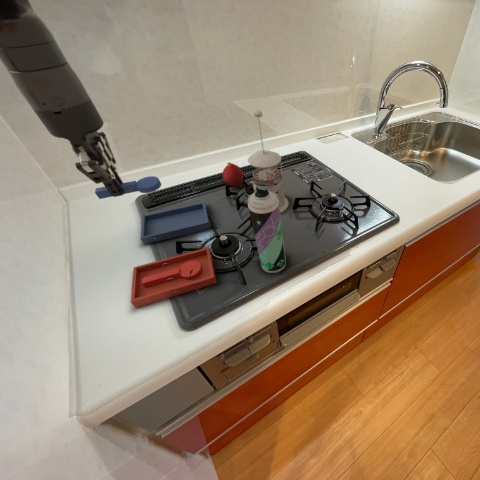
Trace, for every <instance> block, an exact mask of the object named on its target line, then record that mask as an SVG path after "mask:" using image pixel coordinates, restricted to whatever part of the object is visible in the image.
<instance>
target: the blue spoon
mask: <svg viewBox="0 0 480 480" xmlns="http://www.w3.org/2000/svg"><path fill="white" fill-rule="evenodd" d="M120 185H121V187H122V189H123V190H124V195H126V194H131V193H137V192H139V193H141V194H148V193H149V194H150V193H154V192H155V191H158V190H159V189H160V188H161V186H162V182H161V181H160V179H159V177H158V176H154V175H153V176H152V175H151V176H145V177H142V178H139V179H138V180H137V181H136V180H131V181H126V182H123V183H121V184H120ZM94 193H95V196H97V198H98V199H99V200H102V199H107V198H111V197H113V196H111V195H110V193H109V192H108V190H107V189H106V187H105V186H101V187H96V188H95V190H94Z"/></svg>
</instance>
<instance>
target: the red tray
mask: <svg viewBox="0 0 480 480" xmlns="http://www.w3.org/2000/svg"><path fill="white" fill-rule="evenodd" d="M200 254H201V255H200ZM188 261H198V262H199V263H200V264H201V266H202V273H201V274H200V275H199V276H198V277H197V278H195V279H192V280H185V279H183V278H182V277H181V278H178V279H174V280H171V281H168V282H164V283H161V284H157V285H154V286H151V287H147V288H145V287H144V286H143V284H142V278H144V277H148V276H151V275H155V274H158V273H162V272H165V271H169V270H172V269H176V268H180V267H181V266H182V265H183V264H184V263H186V262H188ZM164 263H168V264H164ZM162 264H164V265H162ZM217 283H218V282H217V277H216V270H215V266H214V261H213V256H212V252H211V249H210V247H204V248H201V249H196V250H193V251H190V252H186V253H182V254H178V255H174V256H171V257H166V258H163V259H159V260H156V261H152V262H148V263H145V264H140V265H137V266H133V270H132V283H131V292H130V293H131V295H130V303H131V304H132V306H133V307H134V308H136V309H137V308H140V307H143V306H146V305H150V304H153V303H156V302H159V301H162V300H166V299H169V298H173V297H176V296H179V295H182V294H185V293H189V292H192V291H196V290H199V289H202V288H205V287H209V286H211V285H215V284H217ZM175 291H176V292H175ZM177 291H178V292H177ZM173 292H175V293H173Z"/></svg>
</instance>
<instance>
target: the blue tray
mask: <svg viewBox="0 0 480 480" xmlns="http://www.w3.org/2000/svg"><path fill="white" fill-rule="evenodd" d="M211 228H212V227H211V223H210V217H209V213H208V208H207V205H206V201H201V202H196V203H192V204H187V205H183V206H179V207H175V208H169V209H164V210H161V211H160V210H159V211H156V212H155V211H154V212H152V213H147V214H142V215H141V228H140V240H141V242H142V244H143V245H144V246H145V245H149V244H153V243H156V242H161V241H165V240H169V239H172V238H173V239H174V238H177V237H181V236H185V235H189V234H193V233H197V232H200V231H201V232H202V231H205V230H209V229H211ZM154 238H156V239H154Z"/></svg>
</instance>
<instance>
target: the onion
mask: <svg viewBox="0 0 480 480" xmlns="http://www.w3.org/2000/svg"><path fill="white" fill-rule="evenodd" d="M226 164H227V165H226V166H225V167H224V168H223V170H222V179H223V181H224V183H226V184H227V185H229V186H231V187H234V188H236V187H239V186H240V185H241V184H242V183H243V181H244V178H245V177H244V176H245V175H244V171H243V169H241V167H240V166H239V165H237V164H235V163H233V162H231V161H228V162H227V163H226Z"/></svg>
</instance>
